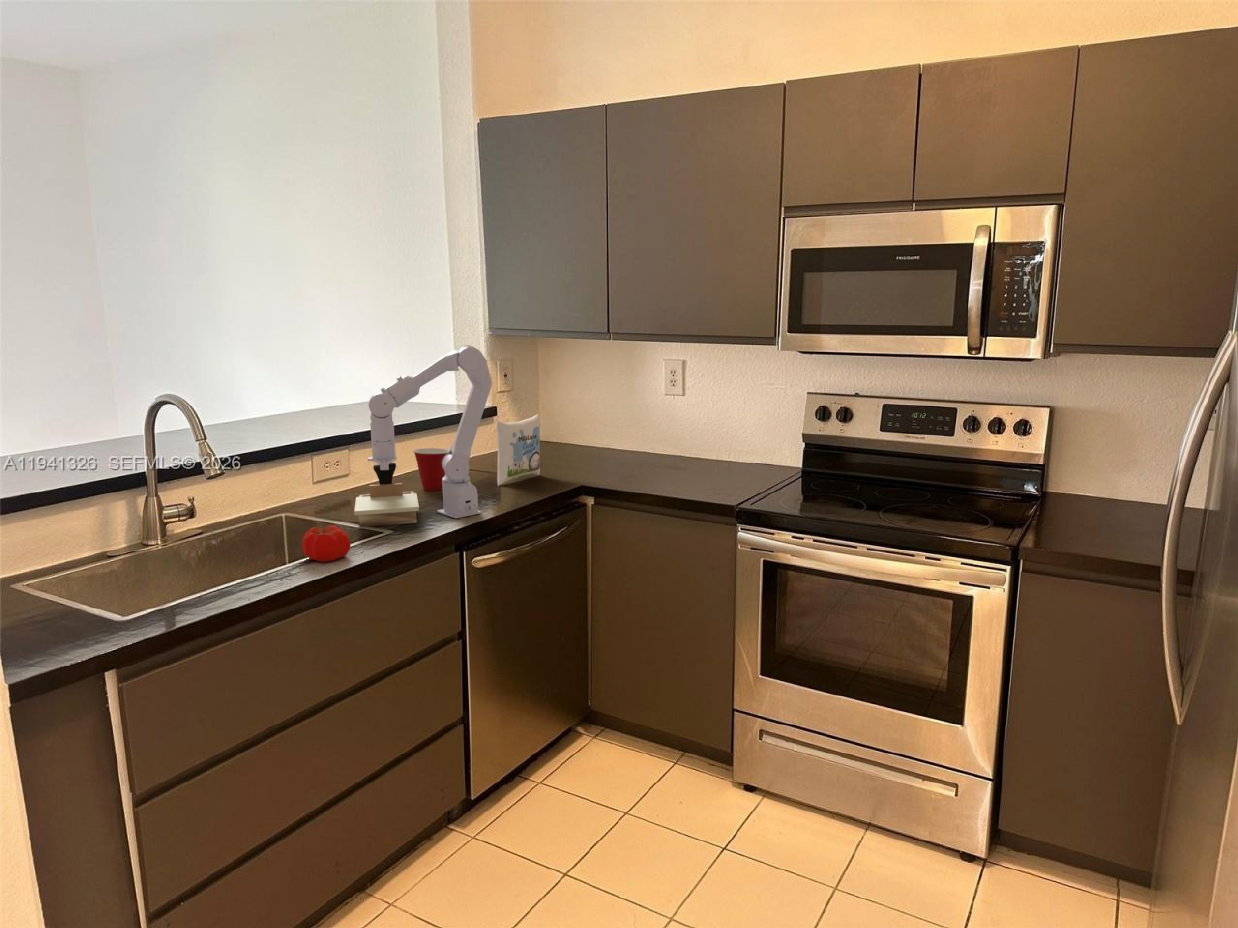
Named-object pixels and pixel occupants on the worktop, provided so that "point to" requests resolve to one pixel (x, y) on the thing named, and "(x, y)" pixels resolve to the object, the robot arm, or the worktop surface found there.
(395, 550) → the worktop surface
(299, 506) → the worktop surface
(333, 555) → the tomato
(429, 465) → the plastic cup
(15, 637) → the worktop surface
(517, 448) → the pouch
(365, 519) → the storage box
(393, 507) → the lid
